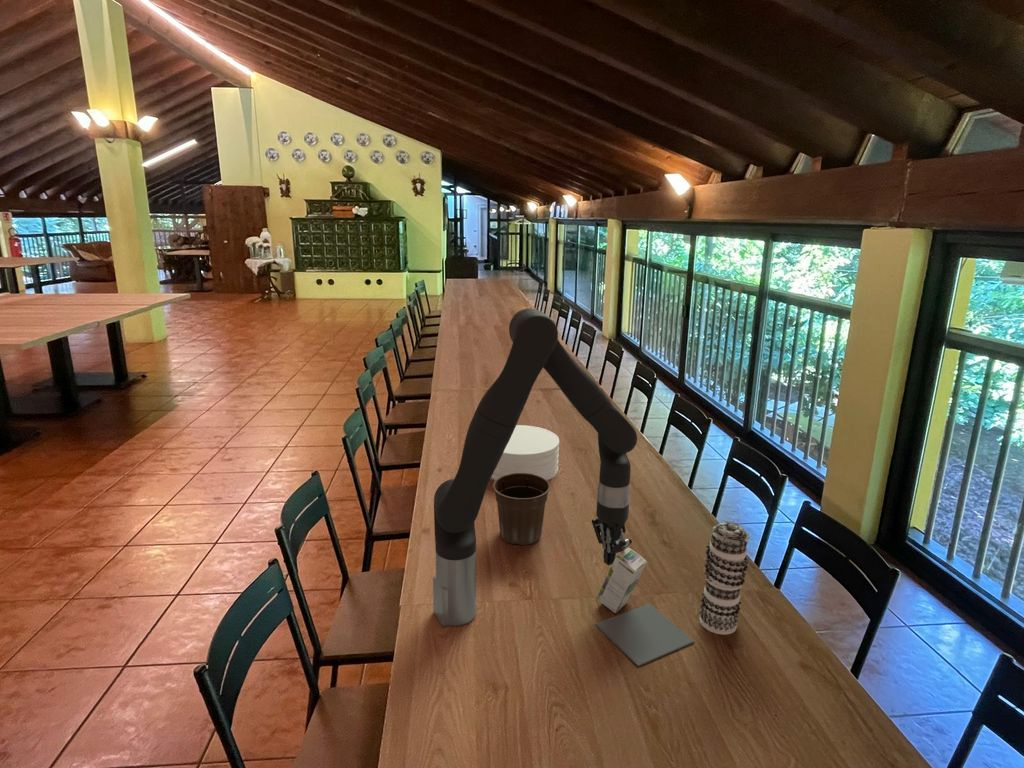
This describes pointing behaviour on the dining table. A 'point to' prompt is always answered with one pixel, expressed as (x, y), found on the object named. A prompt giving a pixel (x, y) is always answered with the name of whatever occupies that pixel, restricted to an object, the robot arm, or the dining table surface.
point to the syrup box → (621, 580)
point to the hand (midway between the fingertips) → (609, 563)
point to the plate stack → (530, 453)
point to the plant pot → (521, 506)
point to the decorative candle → (724, 578)
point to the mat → (644, 634)
